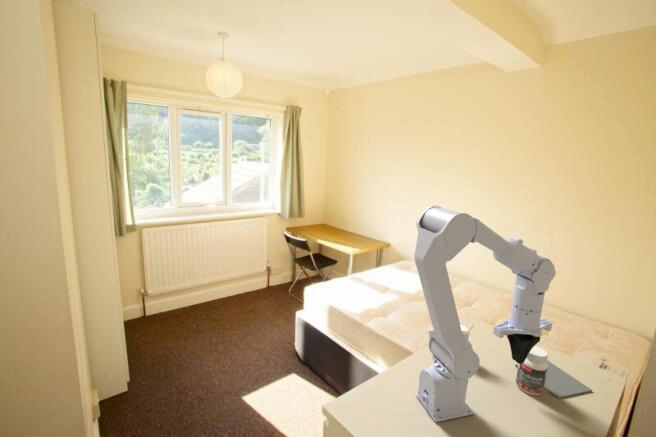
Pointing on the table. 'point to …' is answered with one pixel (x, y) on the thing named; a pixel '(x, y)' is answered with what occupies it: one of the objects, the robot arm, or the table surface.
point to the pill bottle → (533, 372)
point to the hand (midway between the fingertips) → (517, 360)
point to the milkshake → (466, 330)
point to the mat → (562, 383)
